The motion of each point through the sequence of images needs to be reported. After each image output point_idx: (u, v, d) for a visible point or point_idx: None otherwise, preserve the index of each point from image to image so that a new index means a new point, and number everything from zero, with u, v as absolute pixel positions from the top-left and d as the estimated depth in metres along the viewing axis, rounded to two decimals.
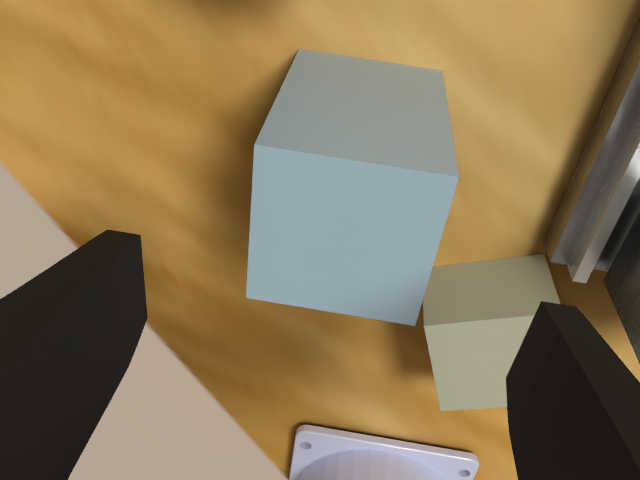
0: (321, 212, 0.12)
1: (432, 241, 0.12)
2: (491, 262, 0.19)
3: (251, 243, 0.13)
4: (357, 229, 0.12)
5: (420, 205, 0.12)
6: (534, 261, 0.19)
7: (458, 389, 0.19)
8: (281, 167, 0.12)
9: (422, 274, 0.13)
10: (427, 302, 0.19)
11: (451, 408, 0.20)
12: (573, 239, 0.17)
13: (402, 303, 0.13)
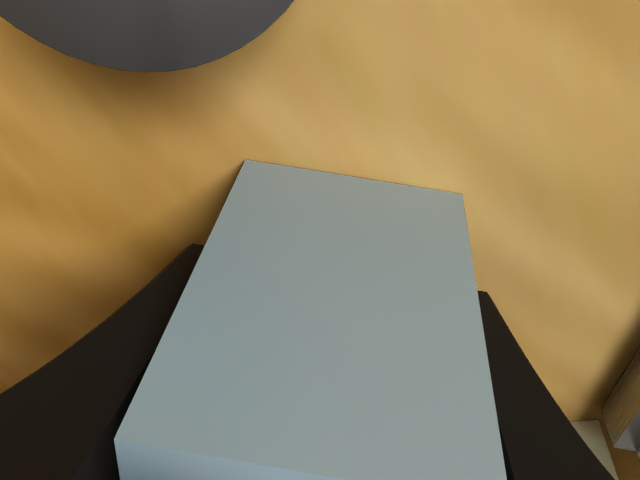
0: None
1: None
2: None
3: None
4: None
5: None
6: (586, 433, 0.13)
7: None
8: (170, 471, 0.06)
9: None
10: None
11: None
12: None
13: None
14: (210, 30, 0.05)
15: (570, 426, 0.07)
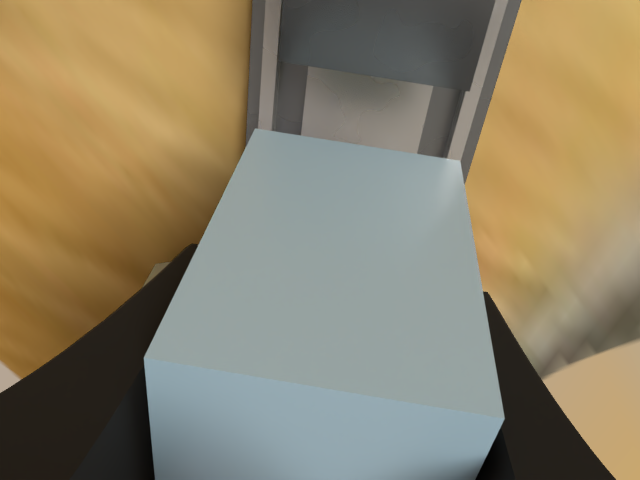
0: (268, 450, 0.07)
1: None
2: None
3: (159, 479, 0.08)
4: (329, 473, 0.07)
5: (435, 450, 0.07)
6: None
7: None
8: (194, 390, 0.07)
9: None
10: None
11: None
12: None
13: None
14: None
15: (571, 426, 0.07)
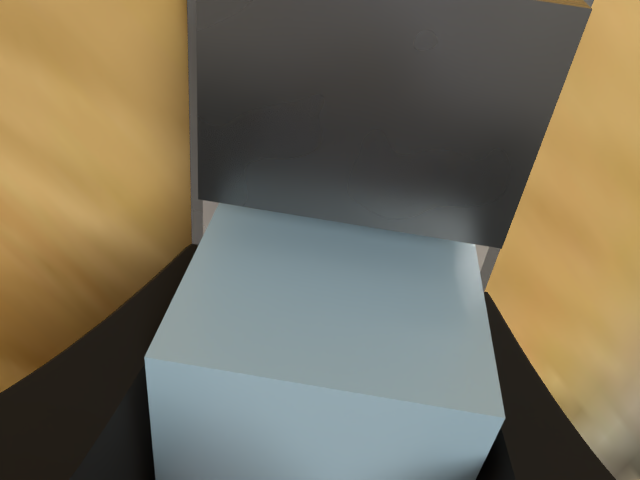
0: (268, 449, 0.07)
1: None
2: None
3: (159, 479, 0.08)
4: (329, 473, 0.07)
5: (435, 450, 0.07)
6: None
7: None
8: (195, 389, 0.07)
9: None
10: None
11: None
12: None
13: None
14: None
15: (571, 426, 0.07)
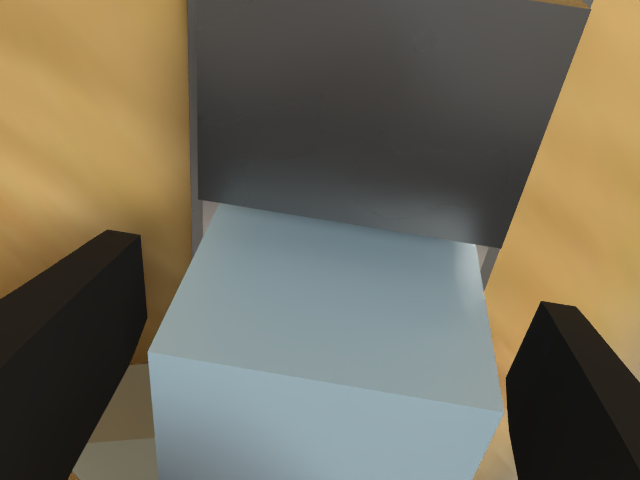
0: (270, 443, 0.07)
1: None
2: None
3: (162, 473, 0.08)
4: (330, 467, 0.07)
5: (435, 444, 0.07)
6: None
7: None
8: (197, 384, 0.07)
9: None
10: None
11: None
12: None
13: None
14: None
15: None
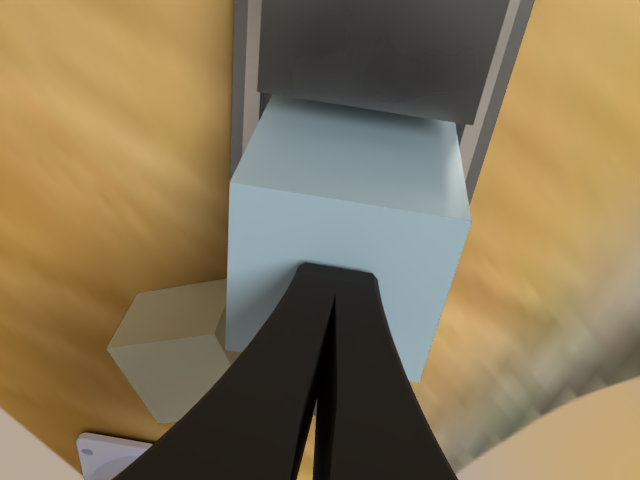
0: (310, 259, 0.10)
1: (439, 292, 0.10)
2: (192, 286, 0.21)
3: (229, 291, 0.11)
4: None
5: (425, 252, 0.10)
6: (223, 284, 0.21)
7: (163, 404, 0.21)
8: (262, 208, 0.10)
9: (427, 328, 0.11)
10: (122, 326, 0.20)
11: (165, 420, 0.21)
12: None
13: (404, 358, 0.11)
14: None
15: (410, 399, 0.07)
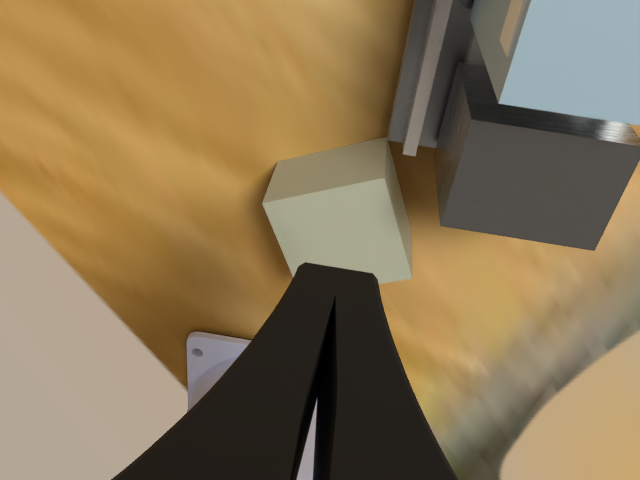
0: None
1: None
2: (339, 148, 0.20)
3: (529, 17, 0.10)
4: None
5: None
6: (375, 143, 0.20)
7: None
8: None
9: None
10: (272, 185, 0.19)
11: None
12: (404, 114, 0.18)
13: None
14: None
15: (410, 399, 0.07)
